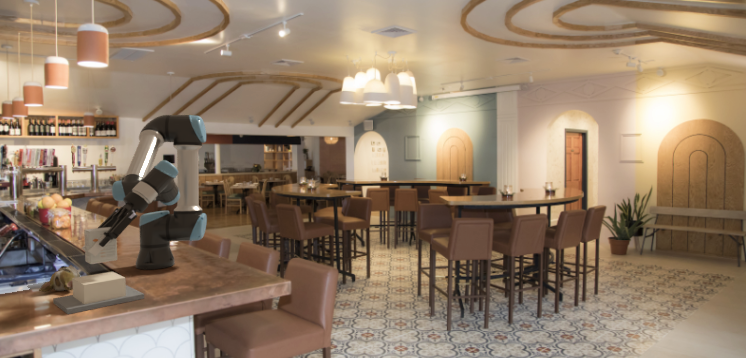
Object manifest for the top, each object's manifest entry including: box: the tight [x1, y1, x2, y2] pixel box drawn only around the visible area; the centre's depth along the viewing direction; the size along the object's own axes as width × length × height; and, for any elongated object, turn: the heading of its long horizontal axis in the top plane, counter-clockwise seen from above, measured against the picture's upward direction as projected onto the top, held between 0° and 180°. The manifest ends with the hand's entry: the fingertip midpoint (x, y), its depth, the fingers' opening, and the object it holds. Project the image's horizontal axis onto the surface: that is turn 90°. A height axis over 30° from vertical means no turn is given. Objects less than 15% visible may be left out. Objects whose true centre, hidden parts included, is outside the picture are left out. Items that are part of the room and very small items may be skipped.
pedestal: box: [52, 271, 145, 315], centre depth 154 cm, size 16×22×8 cm
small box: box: [83, 227, 118, 265], centre depth 154 cm, size 8×6×10 cm
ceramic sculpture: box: [38, 264, 81, 293], centre depth 167 cm, size 11×9×15 cm
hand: (88, 252), depth 151 cm, fingers closed on small box, 6 cm apart
